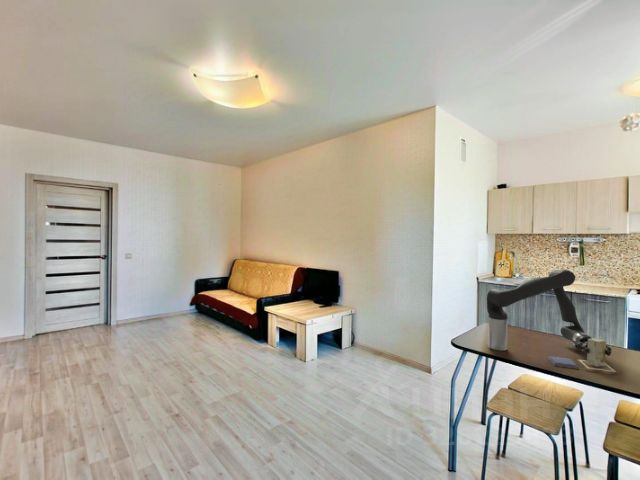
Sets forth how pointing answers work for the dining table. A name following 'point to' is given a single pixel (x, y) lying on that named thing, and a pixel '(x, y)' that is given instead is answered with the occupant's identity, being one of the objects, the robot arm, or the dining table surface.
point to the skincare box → (596, 352)
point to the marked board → (597, 368)
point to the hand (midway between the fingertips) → (598, 352)
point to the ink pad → (562, 362)
